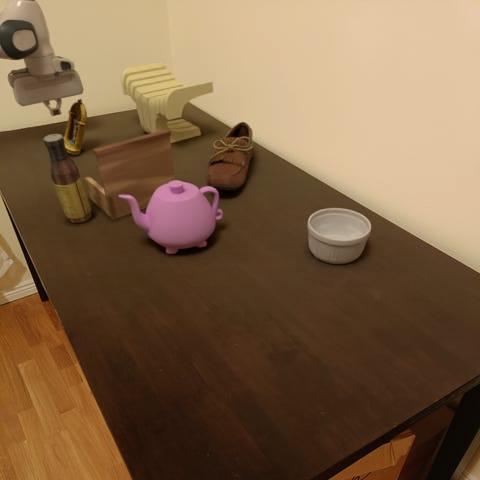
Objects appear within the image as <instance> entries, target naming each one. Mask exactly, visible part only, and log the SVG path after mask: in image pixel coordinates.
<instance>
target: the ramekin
mask: <svg viewBox="0 0 480 480" xmlns="http://www.w3.org/2000/svg"><path fill="white" fill-rule="evenodd" d="M306 227H307V232H308V233H307V234H308V237H307V238H308V239H307V240H308V248H309V251H310V252H311V253H312V255H313V257H314V258H316V259H318V260H320V261H321V262H324V263H326V264H331V265H344V264H349V263H352V262H354V261H355V260H357V259H358V258H360V256H361V255H362V253H363V252H364V249H365V246H366V243H367V241H368V238H369V237H370V235H371V232H372V224H371V221H370V220H369V219H368V218H367V217H366V216H365V215H364V214H362V213H360V212H357V211H354V210H352V209H347V208H341V207H329V208H328V207H327V208H324V209H323V208H322V209H319V210H317V211H315V212H313V213H312V214H311V215H310V216H309V217H308V220H307V226H306Z"/></svg>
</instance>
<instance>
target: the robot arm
mask: <svg viewBox="0 0 480 480" xmlns="http://www.w3.org/2000/svg"><path fill="white" fill-rule="evenodd" d="M50 37H51V36H50V31H49V27H48V24H47V21H46V18H45V15H44V13H43V10H42V7H41V6H40V4H39V2H38V1H37V0H7V3H6V5H5V7H4V8H3V10H2V11H1V12H0V59H1V60H10V61H20V60H23V63H24V65H25V67H24V68H18V69H13V70H11V71H10V72H9V73H8V74H7V82H8V83H9V86H10V87H11V89H12V93H13V97H14V100H15V102H16V103H17V104H18V105H19V106H21V107H27V106H32V105H37V104H42V103H43V106H45V107H46V108H47V109H48V110H49V114H50V116H51V117H55V116H60V115H62V111H61V108H62V104H63V100H62V99H66V98H69V97H75V96H78V95H79V96H80V95H82V94H83V93H84V85H83V82H82V79H81V77H80V75H79V73H78V71H77V70H76V69H75V67H76V66H75V63H74V61H72V60H71V59H70V58H68V57H64V56H59V55H56V53H55V50H54V48H53V47H52V44H51V40H50ZM51 101H55V103H56V105H55V107H51V106H50V105H51Z"/></svg>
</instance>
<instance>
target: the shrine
mask: <svg viewBox="0 0 480 480" xmlns="http://www.w3.org/2000/svg"><path fill="white" fill-rule="evenodd" d="M87 121H88V112H87V108H86V105H85V104H84V102H83V99H82V98H79V99H77V101H75V102H73V103H72V105H71V106H70V109H69V110H68V120H67V123H66V129H65V133H64V136H63V139H64V145H65V148H66V151H67V153H68V155H69V156H79V155H80V154H81V152H82V151H81V149H82V145H83V140H84V136H85V132H86V126H87Z"/></svg>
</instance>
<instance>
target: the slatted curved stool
mask: <svg viewBox="0 0 480 480" xmlns="http://www.w3.org/2000/svg"><path fill="white" fill-rule="evenodd" d="M120 80H121V81H120V82H121V87H122V88H121V89H122V93H123V95H124V96H125V95H127V96H128V97H130V98H131V99H132V101H133V103H135V107H136V112H137V115H138V118H139V123H140V126H141V129H142V130H143V131H144V132H146V133H147V134H151V133H155V132H158V131H162V130H166V129H167V130H169V131H171V136H170V141H171V144H173V143H176V142H181V141H184V140H187V139H192V138H195V137H198V136H201V135H202V132H201V129H200V127H198V126H196V125H194V124H193V123H191V122H189V121H187V120H185V119H183V118H182V115H183V110H184V108H185V106H186V105H187V104H188V103H189V102H191V101H192V100H194V99H196V98H199V97H201V96H204V95H208V94H212V93H214V84H213V83H214V82H213V81H210V82H205V83H200V84H196V85H192V86H187V85H184V84H183V83H181V81H179V79H177V78H176V77H175V75H174V74H172V72H171V71H170V70H169V68H167V65H166V64H165V62H164V61H157V62H153V63H147V64H140V65H135V66H130V67H127V68H126V69H124V71H123V72H122V74H121V77H120ZM174 119H175V120H174Z"/></svg>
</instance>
